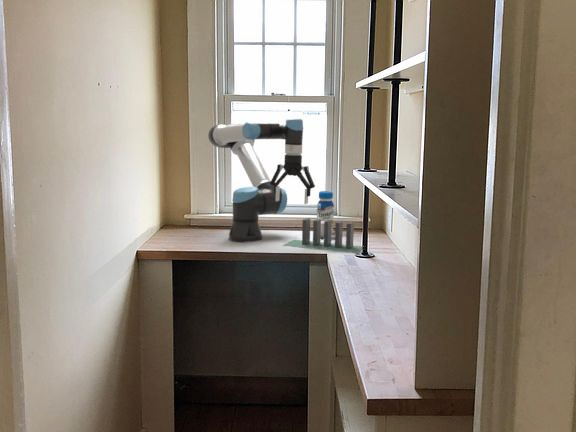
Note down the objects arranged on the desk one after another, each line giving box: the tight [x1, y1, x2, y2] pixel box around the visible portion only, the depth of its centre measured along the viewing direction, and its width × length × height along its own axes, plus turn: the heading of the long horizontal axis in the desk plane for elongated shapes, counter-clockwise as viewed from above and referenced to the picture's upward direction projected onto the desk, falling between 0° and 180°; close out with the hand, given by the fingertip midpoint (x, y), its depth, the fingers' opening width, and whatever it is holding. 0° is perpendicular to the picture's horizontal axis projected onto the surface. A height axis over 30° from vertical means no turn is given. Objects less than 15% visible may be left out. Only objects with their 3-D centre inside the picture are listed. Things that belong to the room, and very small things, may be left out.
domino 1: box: [301, 217, 311, 245], centre depth 262 cm, size 2×5×11 cm, turn 158°
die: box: [321, 221, 335, 239], centre depth 277 cm, size 8×9×10 cm
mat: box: [282, 239, 363, 255], centre depth 259 cm, size 34×14×1 cm, turn 68°
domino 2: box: [312, 218, 322, 246], centre depth 260 cm, size 2×5×11 cm, turn 158°
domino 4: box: [334, 220, 344, 248], centre depth 257 cm, size 2×5×11 cm, turn 158°
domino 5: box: [345, 221, 355, 249], centre depth 255 cm, size 2×5×11 cm, turn 158°
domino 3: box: [323, 220, 332, 247], centre depth 259 cm, size 2×5×11 cm, turn 158°
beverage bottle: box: [316, 190, 335, 228], centre depth 289 cm, size 8×8×20 cm
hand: (291, 202), depth 263 cm, fingers open, 13 cm apart
